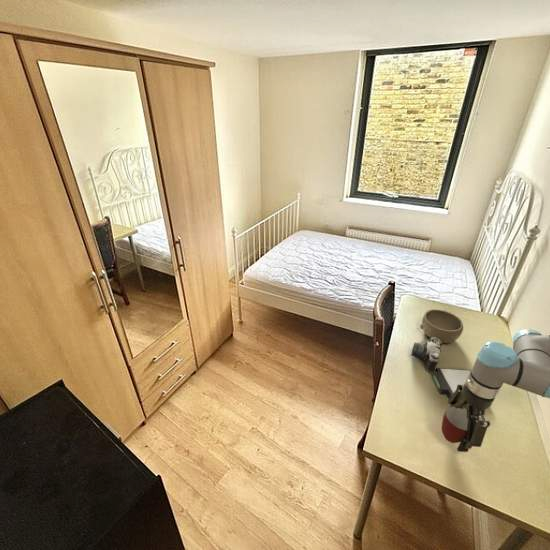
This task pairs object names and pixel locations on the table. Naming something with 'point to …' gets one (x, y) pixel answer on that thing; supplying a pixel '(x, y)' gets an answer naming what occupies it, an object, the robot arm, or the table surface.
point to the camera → (428, 353)
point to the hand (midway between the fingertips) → (455, 437)
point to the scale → (449, 379)
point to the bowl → (442, 325)
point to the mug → (454, 424)
